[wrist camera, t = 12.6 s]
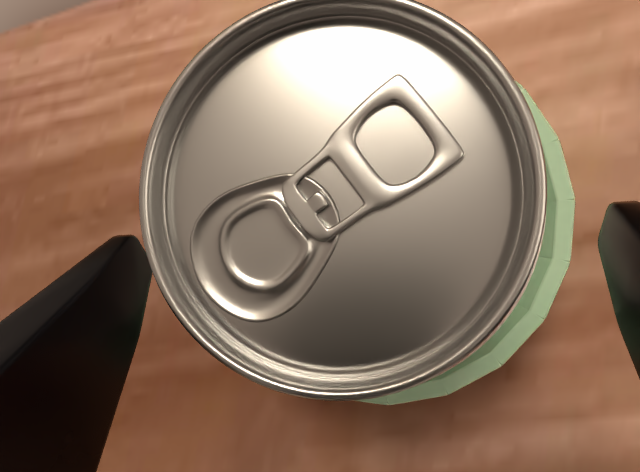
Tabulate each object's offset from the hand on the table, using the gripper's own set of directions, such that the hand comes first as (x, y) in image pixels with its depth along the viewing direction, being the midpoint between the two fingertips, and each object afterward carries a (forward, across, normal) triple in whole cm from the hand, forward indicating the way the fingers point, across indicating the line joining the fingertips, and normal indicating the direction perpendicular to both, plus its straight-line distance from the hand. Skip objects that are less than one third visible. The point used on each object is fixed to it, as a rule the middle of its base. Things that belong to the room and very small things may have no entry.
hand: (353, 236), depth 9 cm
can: (+7, 0, +6) cm, 9 cm away
